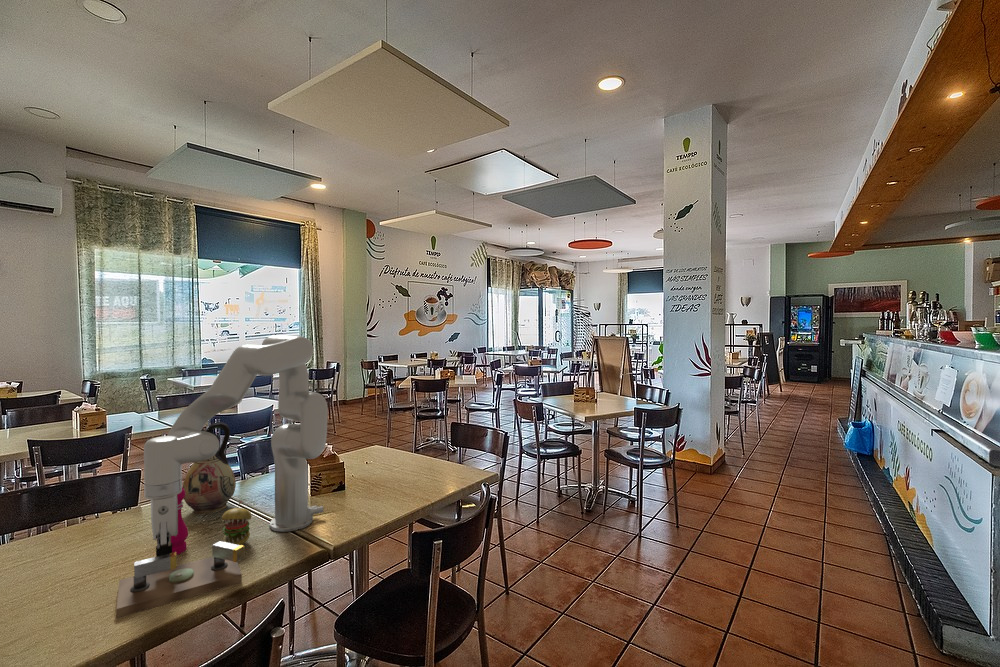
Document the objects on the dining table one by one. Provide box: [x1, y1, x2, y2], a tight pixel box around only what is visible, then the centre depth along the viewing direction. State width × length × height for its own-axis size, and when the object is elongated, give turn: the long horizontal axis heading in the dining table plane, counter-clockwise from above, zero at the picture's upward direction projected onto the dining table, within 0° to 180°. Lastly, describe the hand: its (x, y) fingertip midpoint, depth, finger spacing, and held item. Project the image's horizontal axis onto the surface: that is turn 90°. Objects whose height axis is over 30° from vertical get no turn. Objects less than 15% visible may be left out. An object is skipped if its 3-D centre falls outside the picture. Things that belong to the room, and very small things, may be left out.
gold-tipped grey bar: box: [211, 540, 245, 567], centre depth 119 cm, size 8×2×6 cm, turn 71°
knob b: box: [132, 552, 178, 589], centre depth 112 cm, size 8×2×6 cm, turn 127°
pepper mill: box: [171, 486, 189, 556], centre depth 131 cm, size 7×7×20 cm
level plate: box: [116, 556, 243, 619], centre depth 115 cm, size 24×14×3 cm, turn 127°
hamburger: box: [220, 499, 252, 546], centre depth 136 cm, size 8×7×12 cm
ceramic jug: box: [182, 421, 237, 516], centre depth 160 cm, size 17×15×30 cm
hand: (164, 561), depth 117 cm, fingers closed
